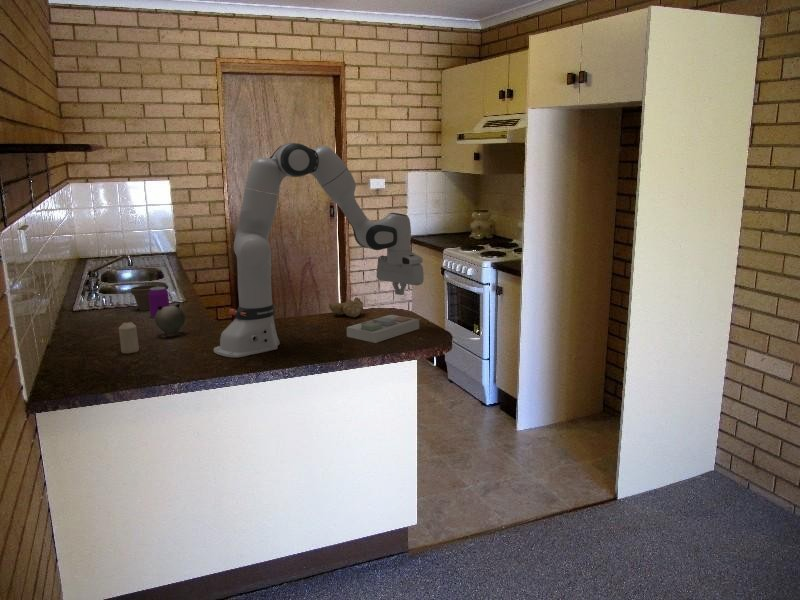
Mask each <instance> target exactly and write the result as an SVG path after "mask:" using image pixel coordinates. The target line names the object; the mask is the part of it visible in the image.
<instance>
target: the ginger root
mask: <svg viewBox="0 0 800 600" xmlns="http://www.w3.org/2000/svg"><path fill="white" fill-rule="evenodd" d="M363 303H364V302H363V301H361V298H359V297H357V296H355V297H354V299H353V300H352V299H347V300H346V302H342V303H341V302H333V303H332V302H331V303H330V304H329V305H328V307H329V309H330V311H331V312H332V313H335V314H336V313H337V314H336V315H337V316H338V315H339V316H342V315H346V316H347V317H350V318H356V317H359V315H360V314H361V313H362V312H363V311H364V304H363Z"/></svg>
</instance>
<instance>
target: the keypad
mask: <svg viewBox="0 0 800 600" xmlns="http://www.w3.org/2000/svg"><path fill="white" fill-rule="evenodd" d="M397 317H403V316H400V315H395V314H388V315H385V316H381V317H378V318H374V319H370V320H367V321H364V322H360V323H357V324H353V325H350V326H346V337H347V338H351V339H355V340H360V341H364V342H369V343H373V344H377V343H379V342H382V341H385V340H389V339H392V338H395V337H398V336H401V335H405V334H407V333H410V332H413V331H417V330H420V319H418V318H413V317H406V316H404V317H405V318H410V320H408V321H405V322H396V324H395V325H392V326H389V327H385V326H381V328H382V329H379V330H376V331H373V332H371V331H366V330H362V328H361V325H362V324H366V323H369V322H374V323H377V320H379V319H383V318H391V319H394V318H397Z"/></svg>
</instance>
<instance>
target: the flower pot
mask: <svg viewBox="0 0 800 600" xmlns="http://www.w3.org/2000/svg"><path fill="white" fill-rule="evenodd" d="M152 287H159V285H156V284H146V285H137V286H134V287H131V288H130V293H131V295H133V296H134V300H135V302H136V305H137V307H138V309H139V311H141V312H147V311H149V312H150V304H149V295H148V294H149V290H150V288H152Z"/></svg>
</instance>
